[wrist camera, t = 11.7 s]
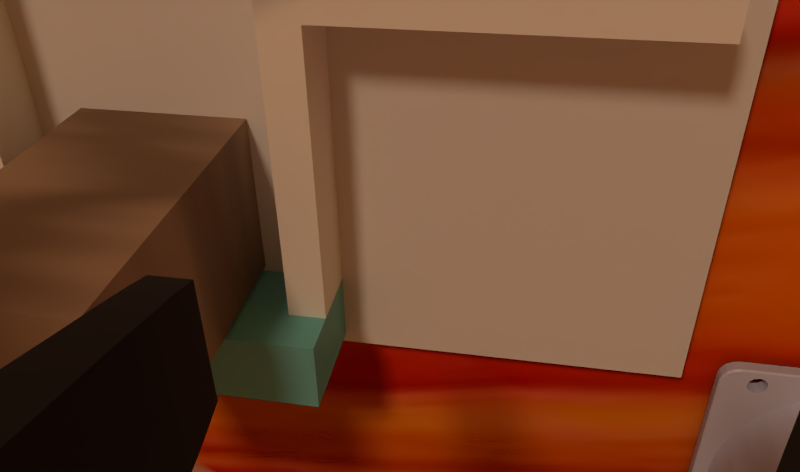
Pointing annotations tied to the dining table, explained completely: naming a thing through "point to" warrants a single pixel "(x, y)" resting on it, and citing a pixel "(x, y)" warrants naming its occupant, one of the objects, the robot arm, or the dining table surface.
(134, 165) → the brown rectangular block
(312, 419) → the dining table surface
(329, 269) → the white tray
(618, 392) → the dining table surface
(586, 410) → the dining table surface
